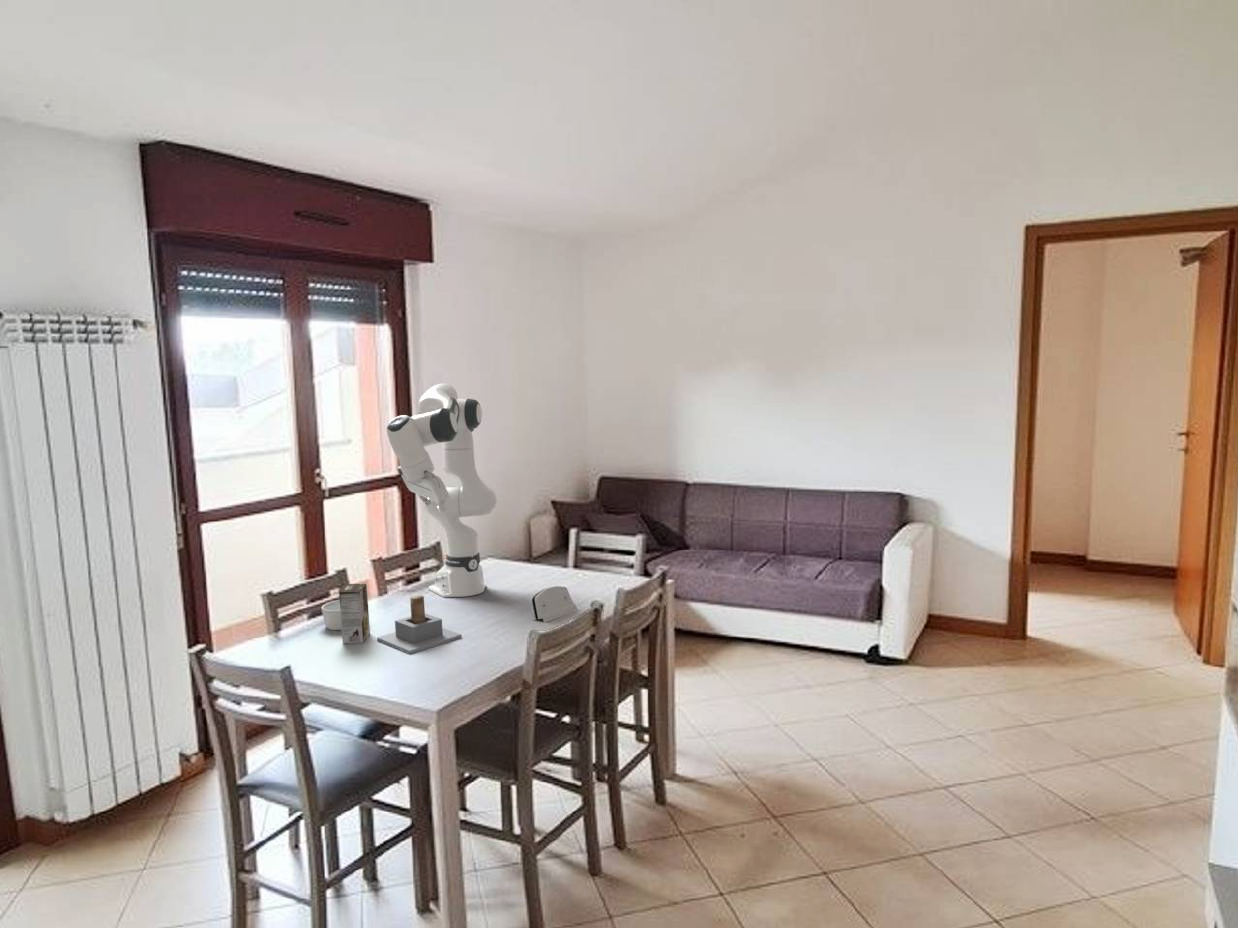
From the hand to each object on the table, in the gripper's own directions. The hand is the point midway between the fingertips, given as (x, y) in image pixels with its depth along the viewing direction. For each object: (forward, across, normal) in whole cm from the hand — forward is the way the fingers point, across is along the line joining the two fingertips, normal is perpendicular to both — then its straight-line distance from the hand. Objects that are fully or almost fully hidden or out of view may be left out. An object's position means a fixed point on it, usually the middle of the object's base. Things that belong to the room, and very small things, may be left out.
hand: (435, 507), depth 239 cm
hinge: (+50, -13, -18) cm, 54 cm away
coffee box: (+29, +11, +36) cm, 47 cm away
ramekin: (+32, +26, +34) cm, 53 cm away
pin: (+32, -3, +22) cm, 39 cm away
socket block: (+33, -3, +22) cm, 40 cm away
